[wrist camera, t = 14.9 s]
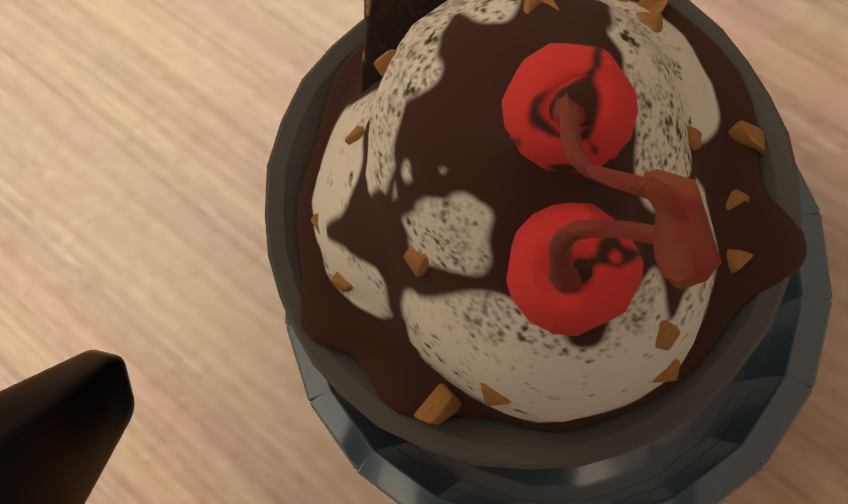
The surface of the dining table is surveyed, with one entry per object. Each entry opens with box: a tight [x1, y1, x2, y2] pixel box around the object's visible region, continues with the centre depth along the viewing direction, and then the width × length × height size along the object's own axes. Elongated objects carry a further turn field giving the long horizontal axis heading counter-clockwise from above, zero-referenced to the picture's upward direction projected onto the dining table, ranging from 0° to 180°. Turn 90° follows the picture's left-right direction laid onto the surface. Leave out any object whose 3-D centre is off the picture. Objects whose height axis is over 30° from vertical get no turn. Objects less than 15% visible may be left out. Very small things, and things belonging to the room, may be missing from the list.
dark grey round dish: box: [285, 164, 832, 504], centre depth 18 cm, size 11×11×4 cm
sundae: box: [265, 0, 807, 469], centre depth 12 cm, size 7×7×15 cm
